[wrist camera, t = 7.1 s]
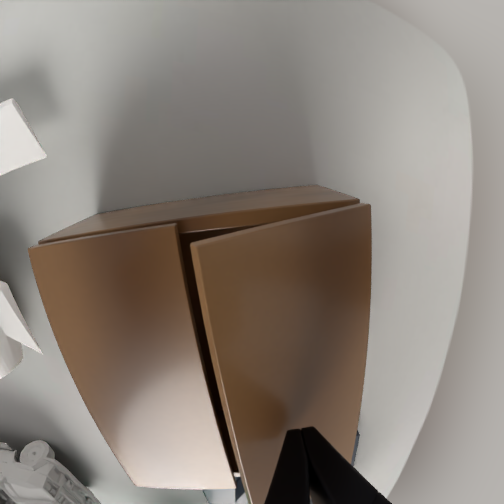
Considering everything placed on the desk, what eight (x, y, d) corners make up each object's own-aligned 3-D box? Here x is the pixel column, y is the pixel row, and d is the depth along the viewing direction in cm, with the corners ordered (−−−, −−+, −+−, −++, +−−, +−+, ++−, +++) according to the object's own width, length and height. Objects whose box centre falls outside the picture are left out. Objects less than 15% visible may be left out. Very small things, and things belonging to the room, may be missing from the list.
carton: (317, 184, 15) (370, 202, 9) (323, 396, 18) (348, 472, 12) (96, 213, 15) (25, 247, 9) (154, 412, 18) (134, 486, 12)
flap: (361, 202, 9) (371, 203, 9) (344, 468, 13) (349, 472, 12) (189, 243, 6) (196, 246, 6) (254, 523, 10) (259, 529, 10)
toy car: (121, 497, 22) (102, 576, 12) (2, 474, 22) (-24, 524, 13) (63, 433, 19) (21, 524, 9) (-46, 417, 19) (-82, 467, 10)
